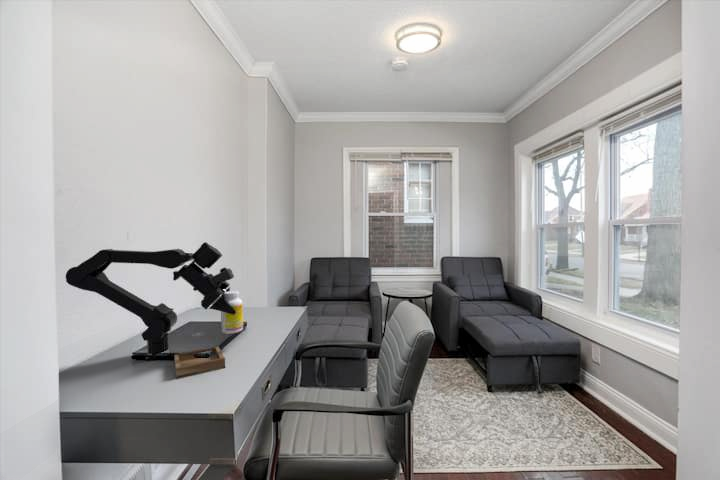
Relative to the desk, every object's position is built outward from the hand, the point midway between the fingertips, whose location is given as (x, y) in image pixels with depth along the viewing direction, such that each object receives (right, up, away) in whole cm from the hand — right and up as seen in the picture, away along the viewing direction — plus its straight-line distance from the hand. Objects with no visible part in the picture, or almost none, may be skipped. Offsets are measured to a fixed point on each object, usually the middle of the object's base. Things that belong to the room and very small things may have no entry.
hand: (236, 310), depth 108 cm
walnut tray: (-6, -13, -13) cm, 19 cm away
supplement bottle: (-1, -7, 0) cm, 7 cm away
